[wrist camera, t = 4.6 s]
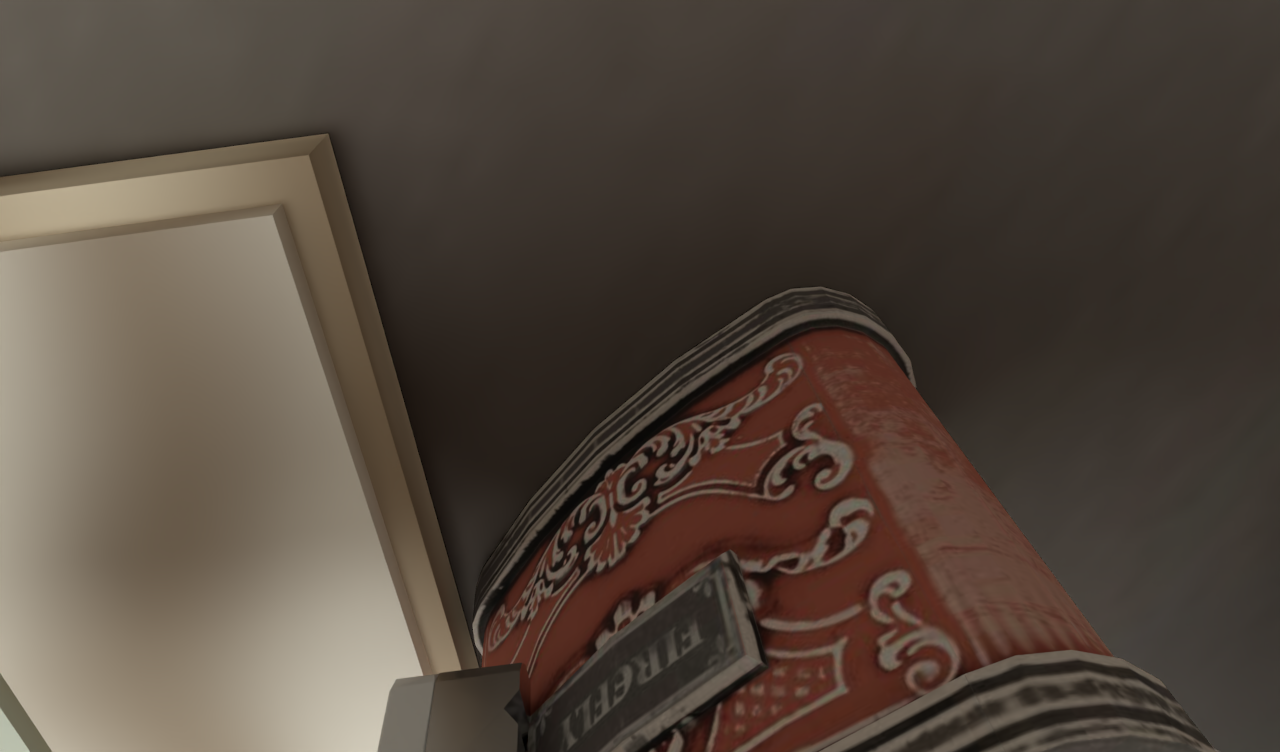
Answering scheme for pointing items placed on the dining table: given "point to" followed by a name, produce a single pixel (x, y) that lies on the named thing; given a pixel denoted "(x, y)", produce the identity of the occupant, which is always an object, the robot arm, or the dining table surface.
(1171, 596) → the dining table surface
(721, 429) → the lighter
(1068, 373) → the dining table surface
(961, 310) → the dining table surface
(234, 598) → the game board
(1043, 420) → the dining table surface
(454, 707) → the robot arm
